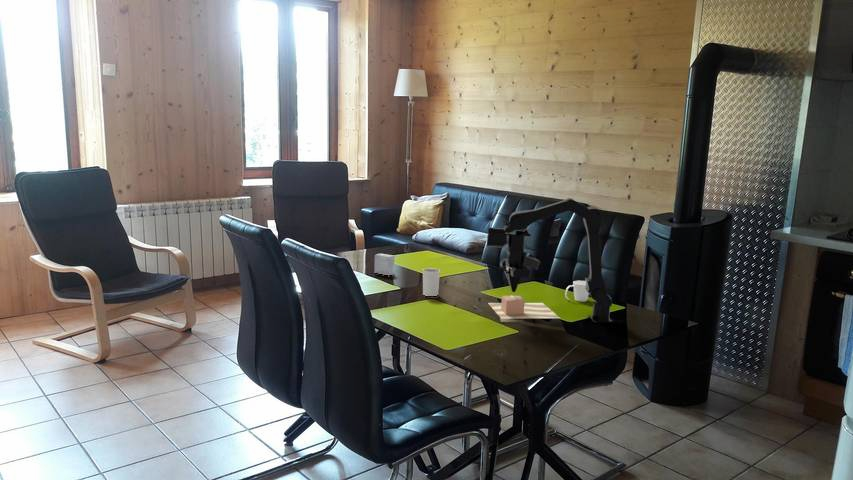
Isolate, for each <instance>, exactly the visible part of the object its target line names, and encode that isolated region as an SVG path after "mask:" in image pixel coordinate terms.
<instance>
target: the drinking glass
mask: <svg viewBox="0 0 853 480" xmlns="http://www.w3.org/2000/svg"><path fill="white" fill-rule="evenodd" d="M440 274H441V270H440V269H438V268H431V267H430V268H429V267H428V268H423V269H422V296H423V295H425V296H437V295H438V296H439V289H440V288H439V287H440V286H439V285H440V276H441V275H440ZM425 296H424V297H425ZM438 296H437V297H438Z"/></svg>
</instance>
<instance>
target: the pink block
mask: <svg viewBox="0 0 853 480" xmlns="http://www.w3.org/2000/svg"><path fill="white" fill-rule="evenodd" d="M501 303H502V305H501V310H502V311H503V312H504V313H505V314H524V303H525V299H524V298H523V297H521V295H501Z"/></svg>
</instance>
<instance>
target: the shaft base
mask: <svg viewBox="0 0 853 480" xmlns="http://www.w3.org/2000/svg"><path fill="white" fill-rule="evenodd" d="M487 304H488V305H489V306H490V308H492V310H493V311H494V312H495V313H496V314H497V315H498V316H497V319H498V320H499V321H500V323H519V322H520V323H521V322H524V323H527V322H528V321H527V320H521V319H561V317H560V316H559V315H558V314H557V313H555V312H554V311H553V310H552V309H550V308H549V307H548V306H547V305H546V304H544V302H524V314H505V313H504V312H503V311H502V310H501V305H502V302H487ZM518 319H519V320H518Z"/></svg>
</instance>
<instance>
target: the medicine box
mask: <svg viewBox="0 0 853 480" xmlns="http://www.w3.org/2000/svg"><path fill="white" fill-rule="evenodd" d="M395 258H396V257H395V255H392V254H385V253H376V254H374V270H373V273H378V274H383V275H382V276H384V275H388V276H387V277H390V276H389V275H392V276H394V275H395ZM378 274H377V275H378ZM393 274H394V275H393Z"/></svg>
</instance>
